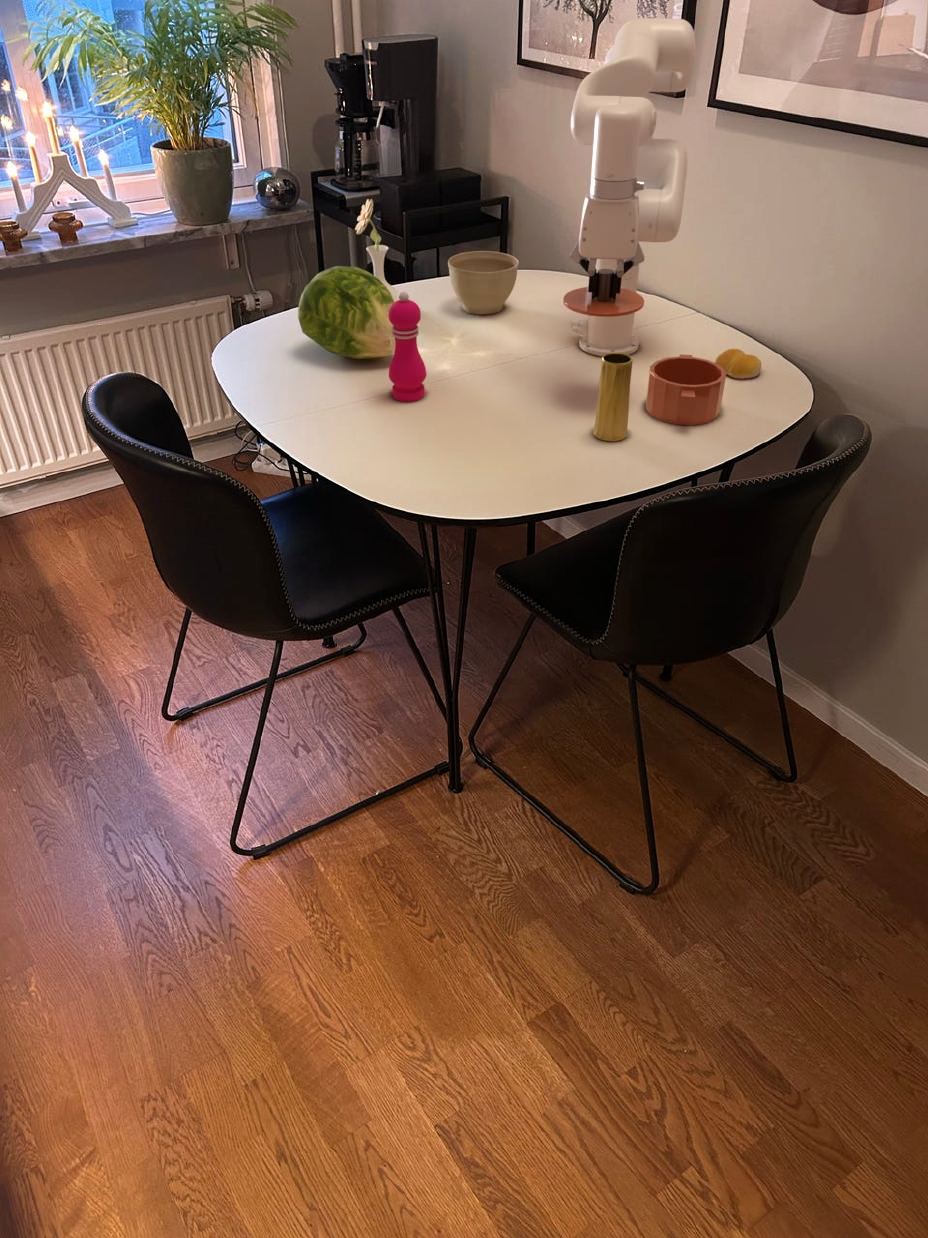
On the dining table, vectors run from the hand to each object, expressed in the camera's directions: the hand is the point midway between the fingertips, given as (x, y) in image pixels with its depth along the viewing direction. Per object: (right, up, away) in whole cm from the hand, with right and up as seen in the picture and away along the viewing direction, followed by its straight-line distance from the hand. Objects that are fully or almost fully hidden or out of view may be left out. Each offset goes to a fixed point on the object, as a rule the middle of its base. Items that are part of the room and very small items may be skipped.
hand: (603, 295), depth 169 cm
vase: (+1, -25, -1) cm, 25 cm away
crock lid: (0, -1, +1) cm, 1 cm away
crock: (+16, -19, +7) cm, 26 cm away
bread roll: (+30, -8, +20) cm, 37 cm away
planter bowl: (-21, +14, +50) cm, 56 cm away
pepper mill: (-36, -15, +13) cm, 41 cm away
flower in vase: (-45, +14, +50) cm, 69 cm away
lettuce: (-48, -2, +30) cm, 57 cm away
